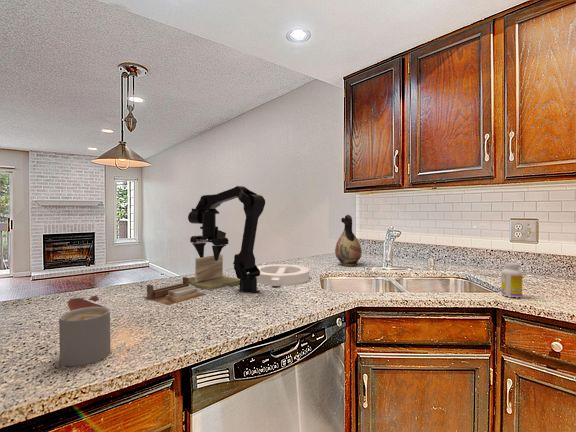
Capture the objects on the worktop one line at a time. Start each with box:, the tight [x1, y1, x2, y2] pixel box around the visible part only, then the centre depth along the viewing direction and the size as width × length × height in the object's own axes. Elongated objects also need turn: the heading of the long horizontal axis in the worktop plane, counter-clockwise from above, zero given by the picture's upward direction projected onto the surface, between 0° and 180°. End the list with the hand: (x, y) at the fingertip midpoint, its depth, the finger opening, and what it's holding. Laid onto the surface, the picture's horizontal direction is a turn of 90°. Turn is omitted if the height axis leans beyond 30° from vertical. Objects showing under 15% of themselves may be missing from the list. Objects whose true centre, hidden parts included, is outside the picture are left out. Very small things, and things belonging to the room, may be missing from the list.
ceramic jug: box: [334, 214, 363, 267], centre depth 192 cm, size 17×15×30 cm
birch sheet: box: [194, 254, 224, 282], centre depth 142 cm, size 1×14×10 cm, turn 143°
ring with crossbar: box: [256, 263, 310, 287], centre depth 157 cm, size 28×28×5 cm
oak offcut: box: [166, 291, 200, 303], centre depth 120 cm, size 6×10×2 cm, turn 145°
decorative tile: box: [188, 275, 240, 291], centre depth 143 cm, size 19×20×4 cm
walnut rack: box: [142, 276, 207, 306], centre depth 122 cm, size 16×17×6 cm
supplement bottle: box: [500, 262, 523, 298], centre depth 126 cm, size 7×7×13 cm
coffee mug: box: [58, 306, 111, 367], centre depth 77 cm, size 13×10×10 cm
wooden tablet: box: [68, 294, 104, 311], centre depth 112 cm, size 27×10×2 cm, turn 37°
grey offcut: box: [168, 285, 198, 297], centre depth 120 cm, size 5×9×2 cm, turn 145°
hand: (209, 259), depth 142 cm, fingers open, 9 cm apart
